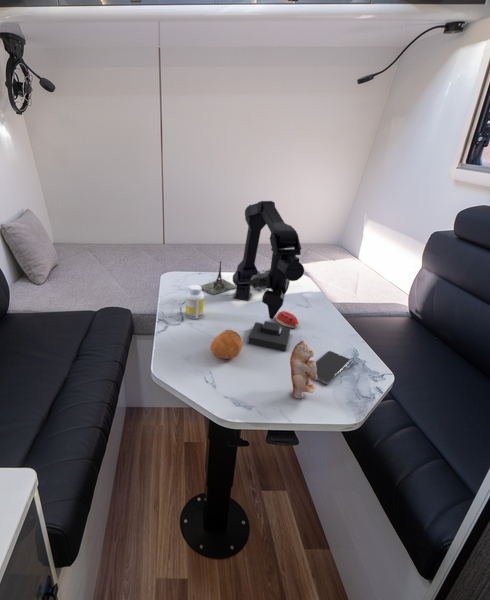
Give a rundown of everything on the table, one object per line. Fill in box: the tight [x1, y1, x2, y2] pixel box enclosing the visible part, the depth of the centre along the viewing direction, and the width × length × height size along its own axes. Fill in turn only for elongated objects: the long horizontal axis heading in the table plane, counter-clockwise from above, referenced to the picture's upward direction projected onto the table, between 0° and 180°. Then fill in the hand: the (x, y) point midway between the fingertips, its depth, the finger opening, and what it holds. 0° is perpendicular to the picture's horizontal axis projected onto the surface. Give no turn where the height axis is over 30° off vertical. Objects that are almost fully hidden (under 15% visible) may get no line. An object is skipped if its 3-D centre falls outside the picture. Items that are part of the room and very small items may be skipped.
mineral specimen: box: [257, 268, 270, 291], centre depth 164 cm, size 12×9×10 cm
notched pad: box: [247, 321, 291, 352], centre depth 125 cm, size 11×12×2 cm
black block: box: [262, 320, 281, 336], centre depth 127 cm, size 5×5×4 cm
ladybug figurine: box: [274, 310, 299, 329], centre depth 135 cm, size 7×10×4 cm
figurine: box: [289, 340, 317, 399], centre depth 98 cm, size 6×8×15 cm
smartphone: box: [314, 350, 352, 385], centre depth 111 cm, size 7×1×16 cm
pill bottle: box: [185, 284, 205, 320], centre depth 138 cm, size 6×6×12 cm
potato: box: [210, 329, 243, 360], centre depth 115 cm, size 9×11×8 cm
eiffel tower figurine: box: [200, 260, 237, 295], centre depth 161 cm, size 15×10×13 cm
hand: (273, 312), depth 124 cm, fingers open, 9 cm apart
